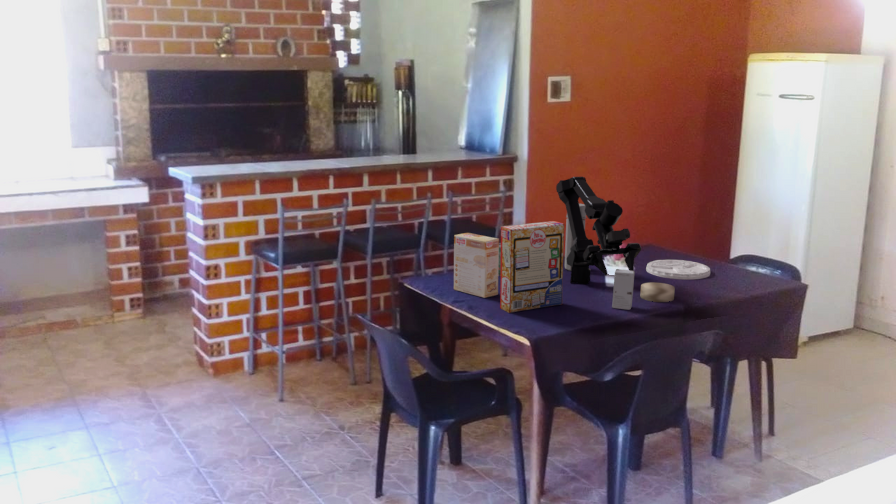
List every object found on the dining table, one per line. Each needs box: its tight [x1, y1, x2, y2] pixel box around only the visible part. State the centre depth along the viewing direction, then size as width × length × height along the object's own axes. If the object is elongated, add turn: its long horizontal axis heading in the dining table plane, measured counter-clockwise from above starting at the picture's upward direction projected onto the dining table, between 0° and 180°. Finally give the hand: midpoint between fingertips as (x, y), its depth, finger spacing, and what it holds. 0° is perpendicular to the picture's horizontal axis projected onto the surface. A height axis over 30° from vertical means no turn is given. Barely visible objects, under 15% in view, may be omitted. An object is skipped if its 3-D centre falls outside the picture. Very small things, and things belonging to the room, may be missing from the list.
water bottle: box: [564, 203, 588, 272], centre depth 307 cm, size 9×8×25 cm
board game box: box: [499, 220, 565, 314], centre depth 257 cm, size 20×6×27 cm, turn 117°
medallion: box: [645, 259, 711, 280], centre depth 309 cm, size 24×27×2 cm
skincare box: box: [611, 268, 636, 310], centre depth 259 cm, size 6×4×12 cm
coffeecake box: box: [453, 232, 500, 299], centre depth 275 cm, size 15×7×20 cm, turn 44°
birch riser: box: [639, 281, 676, 303], centre depth 272 cm, size 11×11×4 cm
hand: (619, 273), depth 261 cm, fingers open, 9 cm apart
